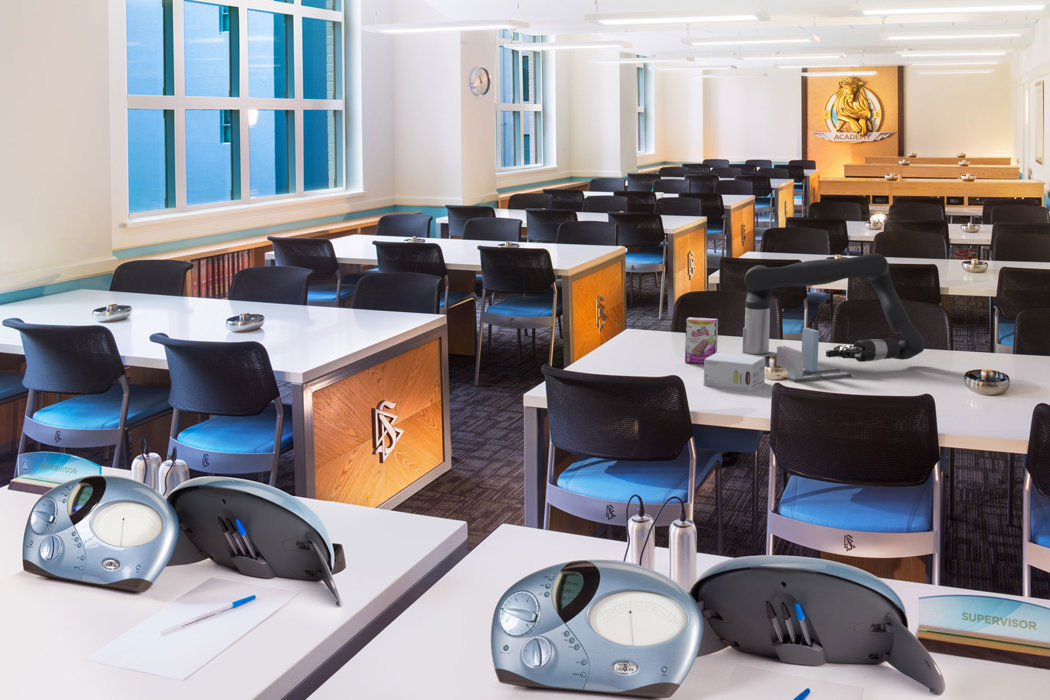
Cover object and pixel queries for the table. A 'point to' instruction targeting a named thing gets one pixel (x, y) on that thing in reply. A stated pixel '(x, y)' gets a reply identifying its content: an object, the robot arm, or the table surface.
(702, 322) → the candy bar box
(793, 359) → the grey bookend stand
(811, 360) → the light blue flat block
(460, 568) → the table surface
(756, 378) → the supplement box
